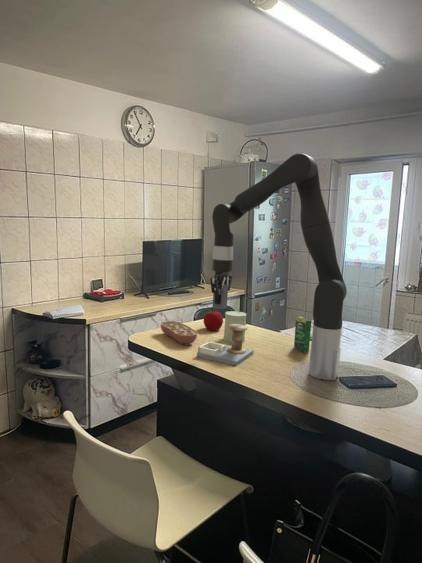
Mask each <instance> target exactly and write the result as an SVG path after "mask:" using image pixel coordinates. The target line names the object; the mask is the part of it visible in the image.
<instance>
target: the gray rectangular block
mask: <svg viewBox="0 0 422 563" xmlns="http://www.w3.org/2000/svg"><path fill="white" fill-rule="evenodd" d="M218 286H221V285H218ZM214 289H215V288H214ZM228 292H229V291H228V284H225V285H223V288H222V290H221V303H220V304H219V305H218V304H215V303H214V302H215V294H214V293H213V296H212V309H218V310H225V309H226V308H228Z"/></svg>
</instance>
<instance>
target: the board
mask: <svg viewBox="0 0 422 563" xmlns="http://www.w3.org/2000/svg"><path fill="white" fill-rule="evenodd" d="M230 346H232V344H231V345H229V344H226V343H220V342H213V341H207V342H206V343H204V344H201V345H199V346H198V347H197V352H196V357H197V358H201V359H205V360H209V361H214V362H219V363H224V364H228V365H232V366H236V367H237V366H239V365H240V364H241V363H243V362H244V361H245V360H247V359H249V358H250V357H251V356H253V355H254V349H250V348H245V349H246V352H245V353H243V354H234V353H230V352H228V351H227V348H228V347H230Z"/></svg>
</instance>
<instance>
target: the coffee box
mask: <svg viewBox="0 0 422 563" xmlns="http://www.w3.org/2000/svg"><path fill="white" fill-rule="evenodd" d="M294 328H295V330H294V343H293V348H294V349H297V351H300V352H301V353H303V354H308V353H309V352H310V344H311V331H312V320H310V319H308V318H305V317H304V316H296V317H295V327H294Z"/></svg>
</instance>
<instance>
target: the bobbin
mask: <svg viewBox="0 0 422 563" xmlns="http://www.w3.org/2000/svg"><path fill="white" fill-rule="evenodd" d="M229 329H231V330H233V331H232V343H231V346H230V347H228V348H227V351H228V352H230V353H234V354H243V353H245V352H246V349H247V348H245V347H243V342H242V341H243V331H245V332H246V331H247V330H248V326H247V325H246V326H245V325H241V324H231V325H229Z"/></svg>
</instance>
